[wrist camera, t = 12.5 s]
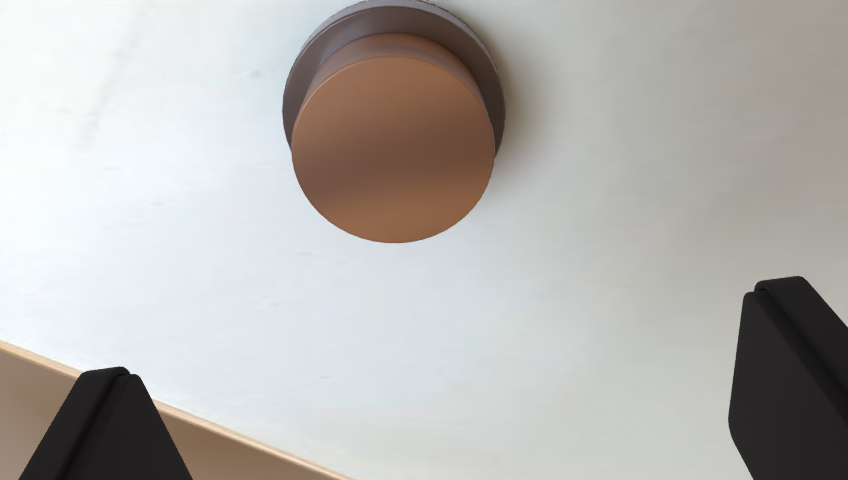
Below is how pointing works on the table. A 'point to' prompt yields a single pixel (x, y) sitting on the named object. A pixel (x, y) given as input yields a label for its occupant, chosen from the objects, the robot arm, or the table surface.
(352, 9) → the walnut chip
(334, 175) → the brown short cylinder
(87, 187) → the table surface
